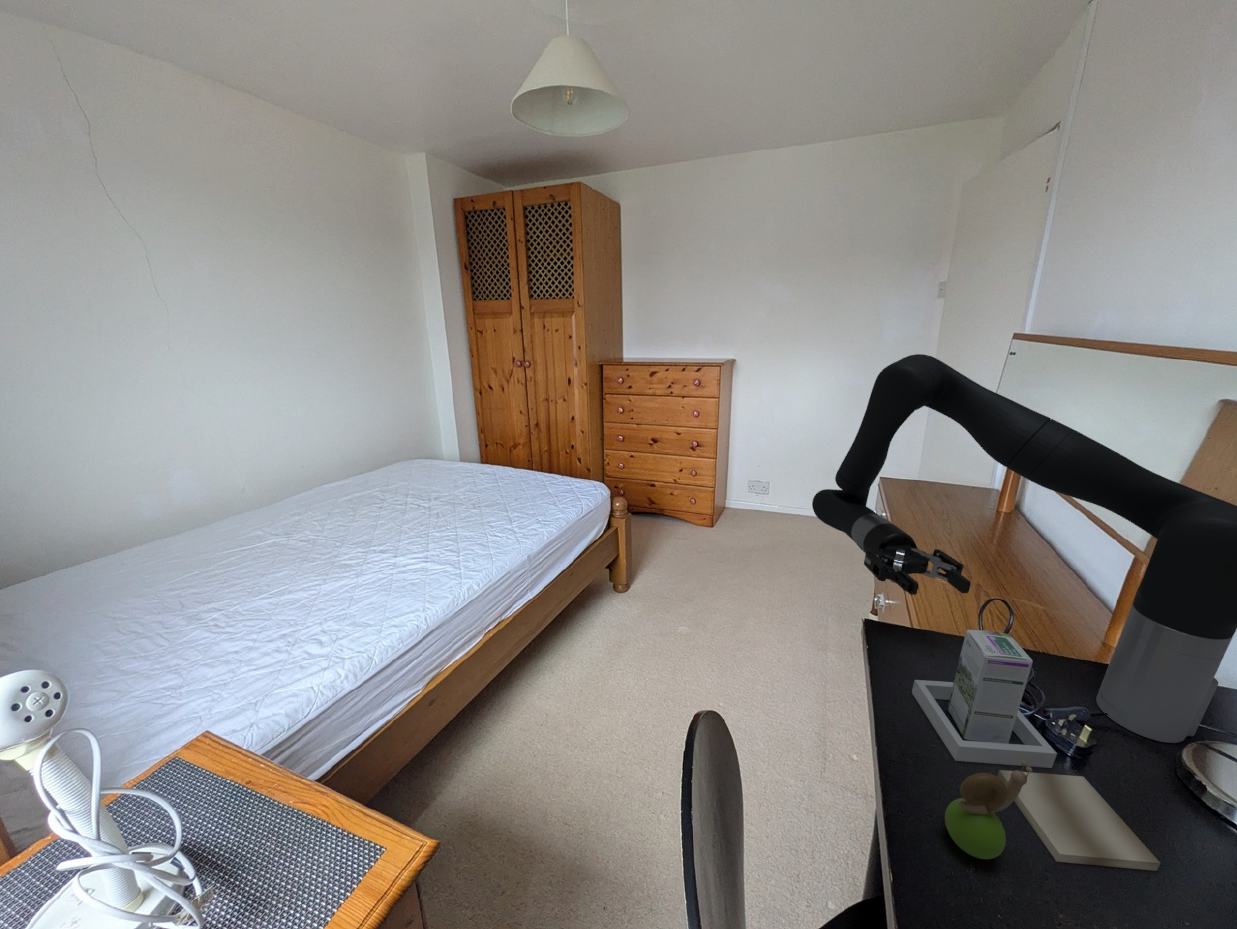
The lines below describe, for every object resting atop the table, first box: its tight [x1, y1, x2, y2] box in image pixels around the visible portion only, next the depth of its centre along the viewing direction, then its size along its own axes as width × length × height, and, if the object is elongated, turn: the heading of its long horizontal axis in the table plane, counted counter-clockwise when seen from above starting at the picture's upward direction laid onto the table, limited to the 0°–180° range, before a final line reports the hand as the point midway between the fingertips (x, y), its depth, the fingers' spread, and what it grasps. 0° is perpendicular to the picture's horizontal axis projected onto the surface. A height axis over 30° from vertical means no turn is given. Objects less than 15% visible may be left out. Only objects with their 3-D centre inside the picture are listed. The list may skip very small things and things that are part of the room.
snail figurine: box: [944, 761, 1033, 860], centre depth 52 cm, size 5×6×12 cm
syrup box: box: [946, 629, 1034, 744], centre depth 67 cm, size 6×6×14 cm
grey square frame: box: [911, 679, 1058, 769], centre depth 69 cm, size 12×12×2 cm
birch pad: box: [996, 769, 1161, 872], centre depth 57 cm, size 10×10×1 cm
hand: (941, 589), depth 75 cm, fingers open, 8 cm apart
